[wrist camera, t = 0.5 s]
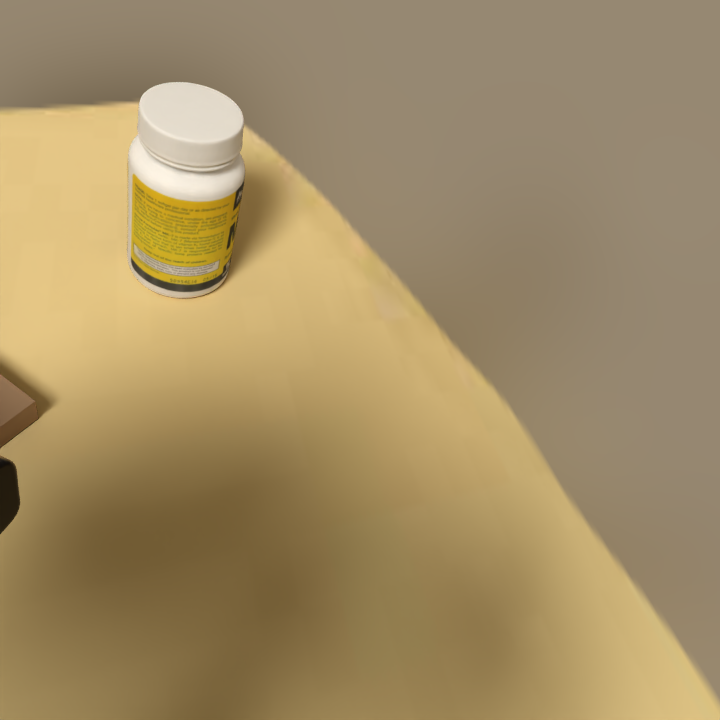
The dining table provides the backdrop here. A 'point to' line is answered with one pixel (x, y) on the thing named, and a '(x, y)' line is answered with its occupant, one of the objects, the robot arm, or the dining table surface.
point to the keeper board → (14, 410)
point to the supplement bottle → (184, 189)
